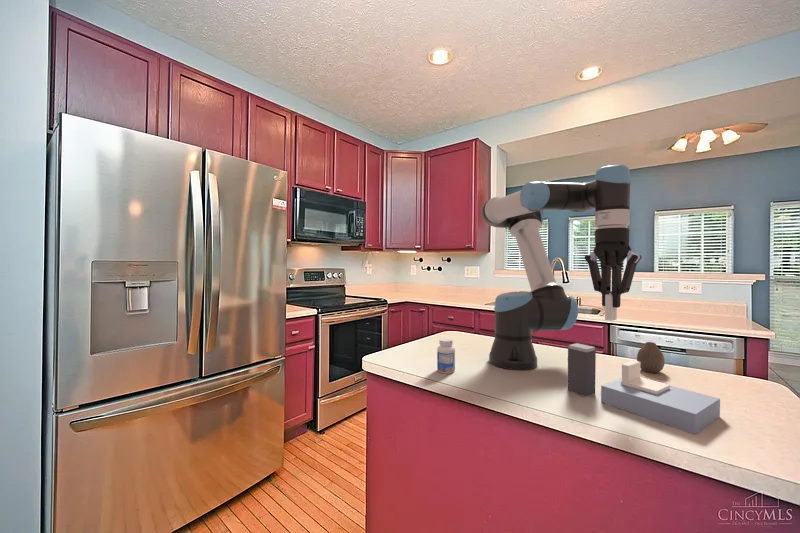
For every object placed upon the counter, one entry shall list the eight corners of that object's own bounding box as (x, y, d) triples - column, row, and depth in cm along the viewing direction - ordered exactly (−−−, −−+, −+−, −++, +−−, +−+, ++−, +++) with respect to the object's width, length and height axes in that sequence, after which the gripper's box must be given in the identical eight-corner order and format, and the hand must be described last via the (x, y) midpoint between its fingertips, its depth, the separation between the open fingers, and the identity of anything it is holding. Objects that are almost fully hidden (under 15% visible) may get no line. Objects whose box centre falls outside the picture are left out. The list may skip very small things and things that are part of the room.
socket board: (601, 401, 83) (601, 385, 82) (629, 389, 90) (629, 374, 90) (695, 434, 67) (695, 414, 67) (719, 416, 75) (720, 398, 75)
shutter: (620, 384, 83) (620, 364, 83) (634, 378, 87) (634, 360, 87) (656, 394, 77) (657, 373, 77) (669, 388, 80) (670, 368, 80)
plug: (567, 390, 90) (568, 345, 89) (576, 387, 92) (576, 343, 92) (586, 397, 86) (587, 349, 85) (595, 393, 88) (595, 347, 87)
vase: (640, 373, 103) (640, 344, 103) (634, 366, 110) (634, 339, 110) (667, 376, 101) (668, 346, 101) (660, 369, 107) (660, 341, 107)
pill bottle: (441, 367, 109) (441, 336, 109) (457, 369, 106) (457, 338, 106) (434, 372, 104) (434, 340, 104) (451, 375, 102) (451, 342, 101)
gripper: (578, 229, 91) (577, 317, 91) (633, 224, 80) (631, 325, 80) (594, 230, 95) (593, 315, 95) (647, 226, 84) (646, 322, 84)
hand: (610, 319), depth 88 cm, fingers closed
